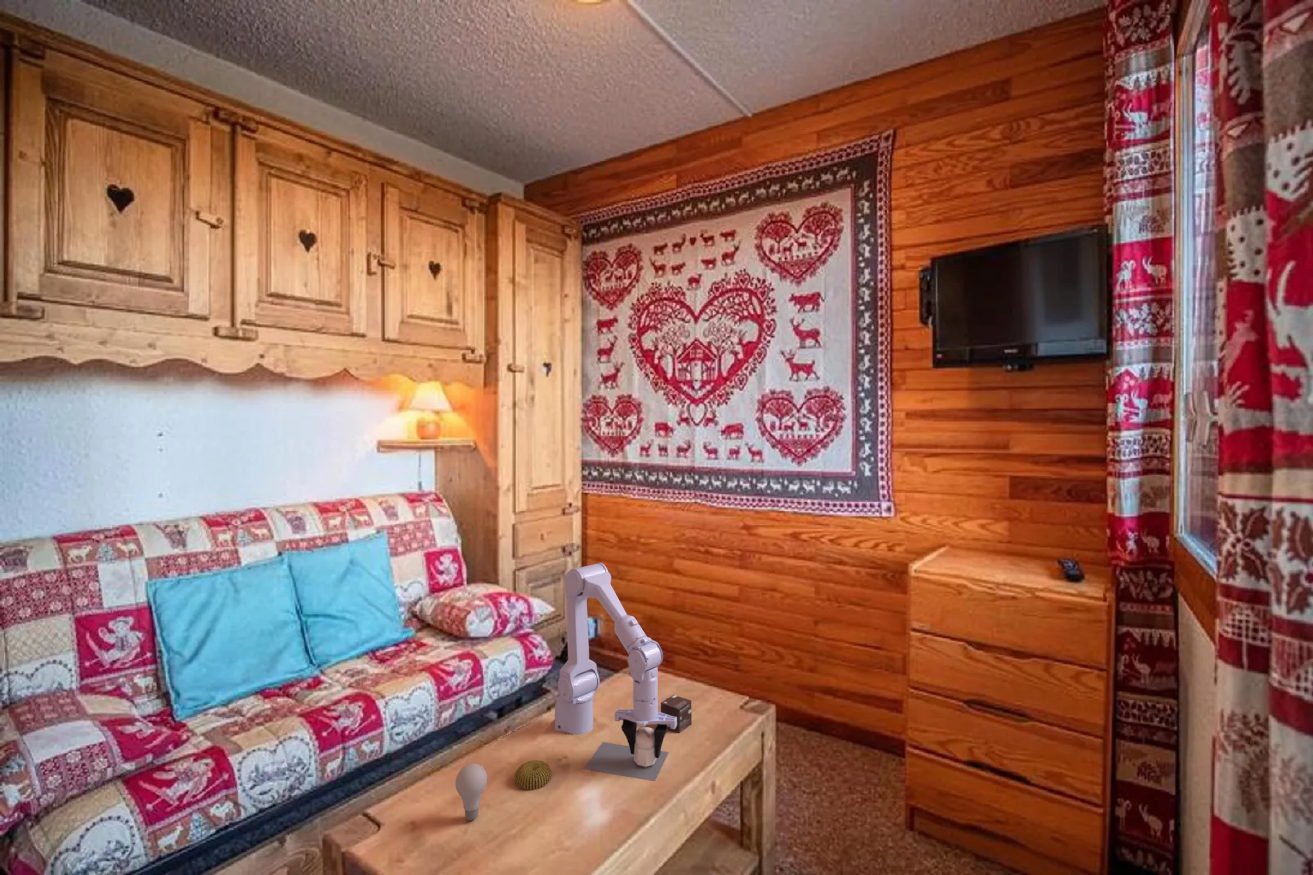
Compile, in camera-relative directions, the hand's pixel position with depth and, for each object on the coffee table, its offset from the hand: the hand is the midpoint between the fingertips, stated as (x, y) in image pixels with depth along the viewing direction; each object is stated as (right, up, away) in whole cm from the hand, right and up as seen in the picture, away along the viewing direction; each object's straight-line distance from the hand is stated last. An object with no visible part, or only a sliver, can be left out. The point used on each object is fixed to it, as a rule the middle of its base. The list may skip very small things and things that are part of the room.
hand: (645, 754), depth 139 cm
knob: (0, -2, 0) cm, 2 cm away
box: (+8, -3, +18) cm, 19 cm away
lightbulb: (-35, -4, -18) cm, 39 cm away
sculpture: (-25, -4, -6) cm, 26 cm away
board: (-4, -3, +1) cm, 6 cm away
